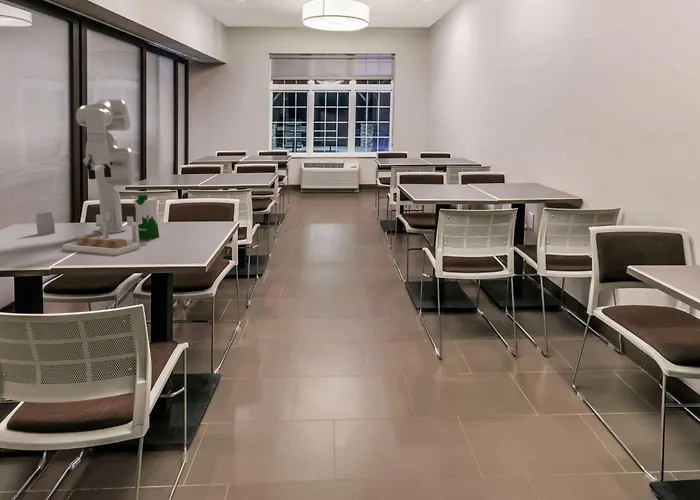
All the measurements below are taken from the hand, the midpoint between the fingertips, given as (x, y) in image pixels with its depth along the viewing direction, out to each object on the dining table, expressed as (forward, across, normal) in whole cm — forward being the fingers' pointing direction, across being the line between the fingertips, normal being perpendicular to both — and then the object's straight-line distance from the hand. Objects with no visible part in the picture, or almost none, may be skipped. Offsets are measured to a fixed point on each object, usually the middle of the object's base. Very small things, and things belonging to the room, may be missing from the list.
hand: (100, 178), depth 262 cm
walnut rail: (+28, +14, +10) cm, 33 cm away
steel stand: (+28, +2, +10) cm, 30 cm away
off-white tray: (+28, +14, +10) cm, 33 cm away
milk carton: (+28, -16, +11) cm, 34 cm away
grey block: (+29, -8, -41) cm, 51 cm away
